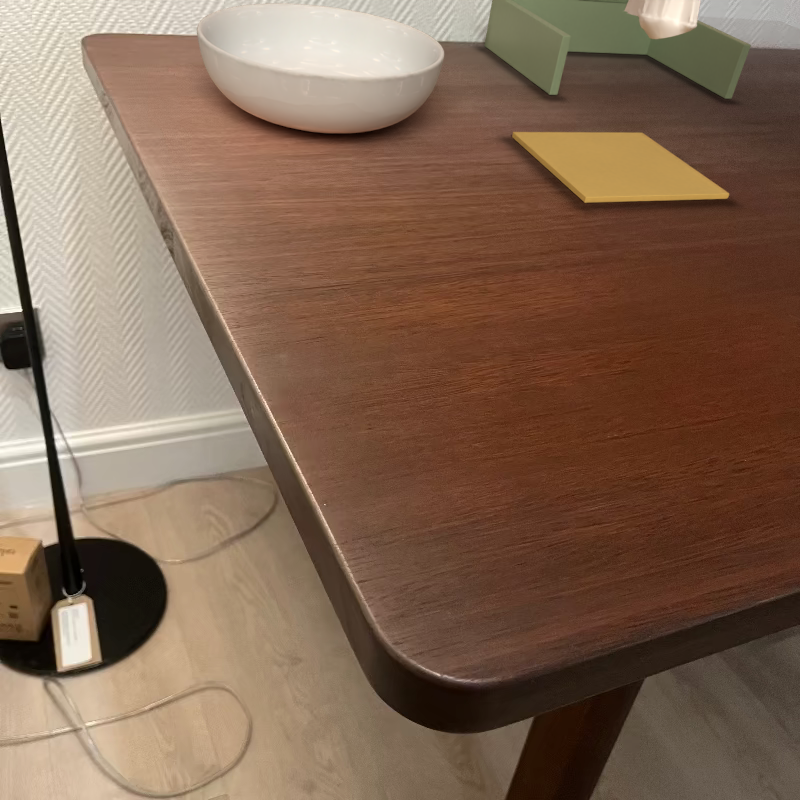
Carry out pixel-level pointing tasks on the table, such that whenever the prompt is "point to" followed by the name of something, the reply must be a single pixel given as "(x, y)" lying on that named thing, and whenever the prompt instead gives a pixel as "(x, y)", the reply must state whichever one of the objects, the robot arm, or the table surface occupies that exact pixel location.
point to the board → (617, 167)
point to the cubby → (605, 41)
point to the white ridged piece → (665, 16)
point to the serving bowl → (319, 65)
